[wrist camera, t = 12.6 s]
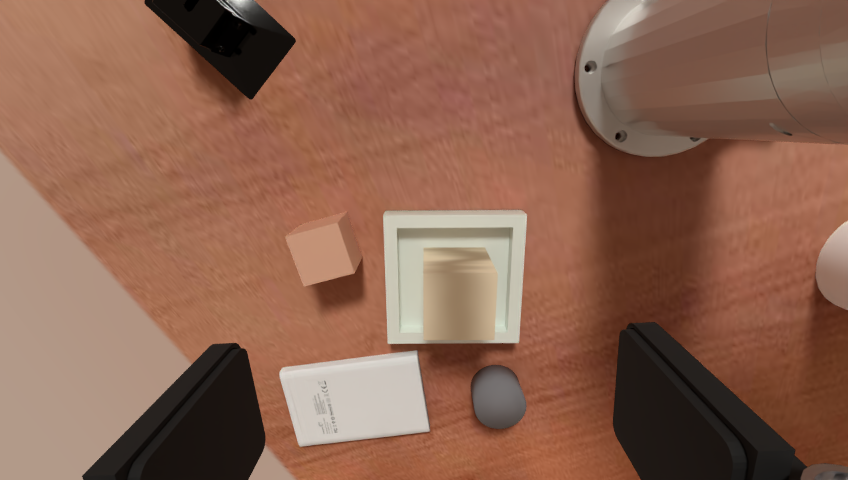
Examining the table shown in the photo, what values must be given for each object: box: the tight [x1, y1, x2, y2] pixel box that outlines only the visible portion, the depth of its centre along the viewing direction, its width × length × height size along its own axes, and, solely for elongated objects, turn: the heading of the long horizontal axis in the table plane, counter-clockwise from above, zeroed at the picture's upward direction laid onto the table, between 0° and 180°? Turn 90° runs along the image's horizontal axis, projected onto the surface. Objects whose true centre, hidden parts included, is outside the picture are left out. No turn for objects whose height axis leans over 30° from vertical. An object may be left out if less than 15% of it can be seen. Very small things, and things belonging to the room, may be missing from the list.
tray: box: [383, 210, 527, 344], centre depth 33 cm, size 11×11×2 cm
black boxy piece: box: [145, 0, 296, 99], centre depth 27 cm, size 12×7×5 cm, turn 47°
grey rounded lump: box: [471, 365, 526, 429], centre depth 36 cm, size 4×4×3 cm
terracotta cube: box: [285, 212, 362, 286], centre depth 32 cm, size 4×4×4 cm
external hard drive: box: [279, 350, 430, 447], centre depth 37 cm, size 2×8×12 cm
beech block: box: [423, 247, 498, 340], centre depth 31 cm, size 5×5×6 cm
